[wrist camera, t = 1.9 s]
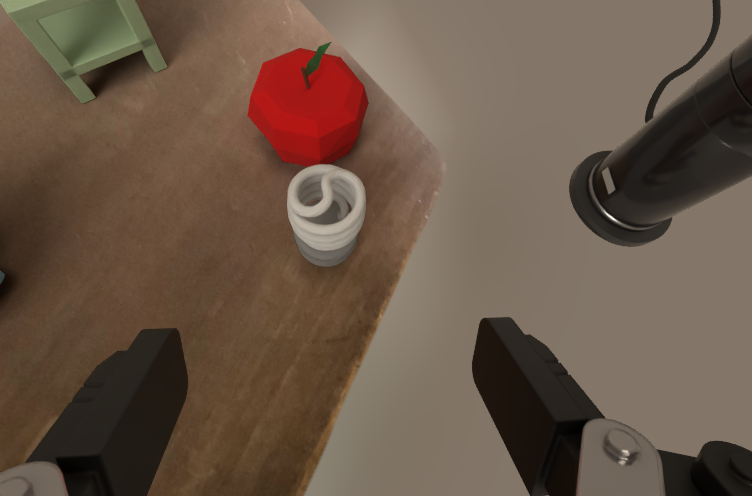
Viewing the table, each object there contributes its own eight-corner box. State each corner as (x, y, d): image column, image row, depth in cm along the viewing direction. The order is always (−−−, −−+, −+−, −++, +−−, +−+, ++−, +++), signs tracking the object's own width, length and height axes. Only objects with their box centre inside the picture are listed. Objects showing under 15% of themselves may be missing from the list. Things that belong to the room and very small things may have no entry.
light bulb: (326, 291, 35) (327, 243, 24) (283, 249, 36) (264, 185, 25) (368, 249, 37) (387, 188, 26) (326, 211, 38) (327, 135, 27)
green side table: (126, 13, 44) (73, -90, 34) (167, 67, 42) (123, -27, 32) (42, 44, 41) (-41, -59, 31) (82, 104, 39) (7, 13, 30)
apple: (324, 201, 38) (324, 139, 29) (236, 146, 39) (209, 69, 30) (380, 130, 42) (396, 55, 33) (299, 81, 43) (293, -5, 34)
